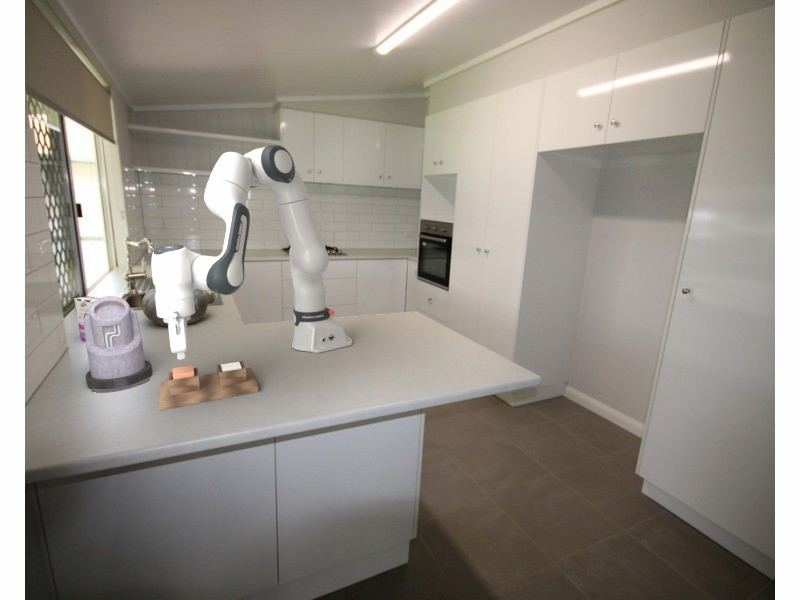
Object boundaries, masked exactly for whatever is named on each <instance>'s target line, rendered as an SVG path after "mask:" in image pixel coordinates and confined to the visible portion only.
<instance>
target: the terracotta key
mask: <svg viewBox="0 0 800 600" xmlns="http://www.w3.org/2000/svg"><path fill="white" fill-rule="evenodd" d="M194 368H195V367H194V365H193V364H192V365H191V364H190V365H187V366H179V367H173V368H172V371H173V380H176V379H182V378H188V377H194Z"/></svg>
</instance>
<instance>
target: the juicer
mask: <svg viewBox="0 0 800 600" xmlns="http://www.w3.org/2000/svg"><path fill="white" fill-rule="evenodd" d="M98 298H99V299H97V300H96V301H94V302H93V303H92V304H91V306H90V308H89V313H88V314H87V315H86V316H85V318H84V320H83V321H84V331H85V339H86V341H85V346H86V352H87V358H88V363H89V369H90V370H89V371H87V373H86V374H85V382H86V387H87V386H88V387H87V388H88V389H89V388H90V390H91V394H92V392H96V393H95V394H108V393H114V392H120V391H121V392H122V391H126V390H130V389H134V388H136V387H139V386H142V385H144V384H146V383H148V382H150V381H151V380H150V378H151V377H152V375H153V369H152V363H151V362H150V361H149V360H145V354H144V353H145V351H144V346H143V338H142V332H141V327H140V323H139V322H140V321H139V317H138V312H137V311H135V310H134V309H133V308H131V307H130V304H129V303H128V302H127V301H126V299H123V298H122V297H119V296H114V295H107V296H101V297H98Z"/></svg>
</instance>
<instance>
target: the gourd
mask: <svg viewBox="0 0 800 600" xmlns="http://www.w3.org/2000/svg"><path fill="white" fill-rule="evenodd" d="M155 293H156V289H155V288H152V289H149V290H148V291H147V292H146V293H145V294H144V296H143V298H142V300H141V306H142V311H143V314H144V316H145V317H146V318H147V319H148V320H150V321H152V322H153V323H156V324H158V325H160V326H164V327H168V324H169V323H165V322H163V318H160V317H158V316H157V312H156V303H155ZM193 295H194V305H195V313H194V314H192V315H190V317H191V319H190V320H189V321H187V325H190V324H193V323H196V322H198V321H200V320H201V319H202V318H203V316H204V315H205V313H206V311H207V310H208V306H209V299H208V298H207V296H206V295H205V294H204V293H203V292H202V290H199V289H194V290H193Z"/></svg>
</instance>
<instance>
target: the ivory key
mask: <svg viewBox="0 0 800 600" xmlns="http://www.w3.org/2000/svg"><path fill="white" fill-rule="evenodd" d="M232 362H233V363H229V362H226V363H227V364H222V363H220V364H221V372H225V371H231V370H237V369H242V368H241V365H240V362H235V361H232Z"/></svg>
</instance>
